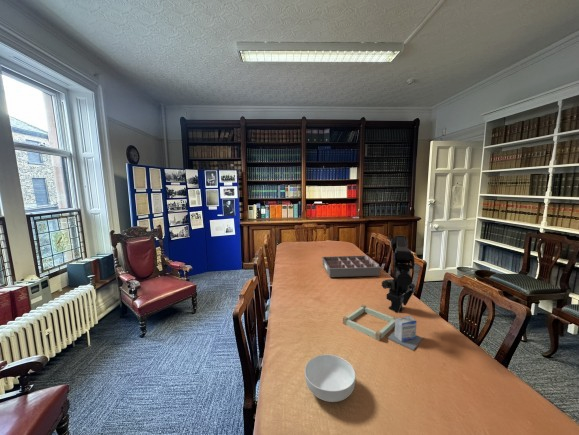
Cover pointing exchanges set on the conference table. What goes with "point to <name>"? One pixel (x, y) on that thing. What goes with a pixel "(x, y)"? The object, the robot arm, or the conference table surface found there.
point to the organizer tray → (351, 266)
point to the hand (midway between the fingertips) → (400, 308)
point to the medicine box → (405, 328)
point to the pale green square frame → (367, 331)
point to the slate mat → (409, 343)
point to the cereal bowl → (330, 377)
